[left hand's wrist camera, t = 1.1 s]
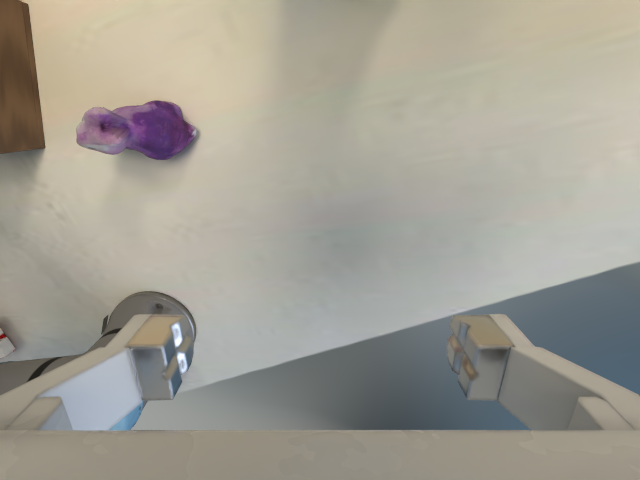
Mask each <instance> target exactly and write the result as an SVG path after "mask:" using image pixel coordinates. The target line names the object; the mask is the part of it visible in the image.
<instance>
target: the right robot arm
mask: <svg viewBox="0 0 640 480" xmlns="http://www.w3.org/2000/svg"><path fill="white" fill-rule="evenodd" d="M138 314H153V315H154V314H162V315H186V316H187V317H188V318H189V323H190V328H189V330H188V332H187V334H188V335H189V336H190V337H191V338H192V340H193V342H194V340H195V336H196V327H195V323H194V320H193V318H192V316H191V314H190V312H189V311H188V310H187V309H186V308H185V307H184V306H183V305H182V304H181V303H180V302H178V301H177V300H175V299H174V298H172V297H170V296H168V295H165V294H162V293H157V292H139V293H135V294H133V295H130V296H128V297H127V298H125V299H124V300H123V301H122V302H121V303H120V304H119V305H118V306H117V307H116V308H115V309H114V311H113V312H112V314H111V316H110V319H109V322H108V324H107V320H108V315H107V316H106V317H105V318H104V321H103V327H102V333H103V332H104V334H103V336H102V337H101V338H100V339H99V340H98V341H97V342H96V343H95V344H94V345H93V346H92V347H91V348H90V349H89V350H88V351H87V352H85V353H83V354H80V355H73V356H65V357H55V358H45V359H36V360H26V361H9V362H2V363H0V395H2V394H4V393H6V392H8V391H10V390H12V389H14V388H16V387H18V386H21V385H23V384H25V383H27V382H29V381H31V380H33V379H35V378H37V377H39V376H41V375H43V374H45V373H47V372H49V371H52V370H54V369H56V368H58V367H60V366H62V365H64V364H66V363H68V362H70V361H72V360H74V359H76V358H78V357H80V356H82V355H85V354H87V353H89V352H91V351H93V350H95V349H97V348H99V347H105V346H106V345H107V344H108V343H109V342H110V341H111V340H112V339H113V338H114V337H115V335H116V334H117V333H118V332H119V331H120V330H121V329H122V328H123V327H124V326H125V325H126V323H127V322H128V321H129V320H130V319H131V318H132V317H133V316H134V315H138ZM106 326H107V327H106ZM102 333H101V334H102ZM147 401H148V400H145V401H142V403H141V404H140V405H138V406H137V407H136V408H135V409H133V410H132V411H131V412H130V413H129V414H127V415H126V416H125V417H124V418H123V419H121V420H120V421H119V422H118V423H116V424H115V425H114V426H113V427H112V428H110V429H109V430H130V429H131V428H132V427H133V426H134V425H135V423H136V422H137V420H138V418H139V416H140V415H141V411H142V410H143V408H144V406H145V405H146V403H147Z"/></svg>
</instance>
